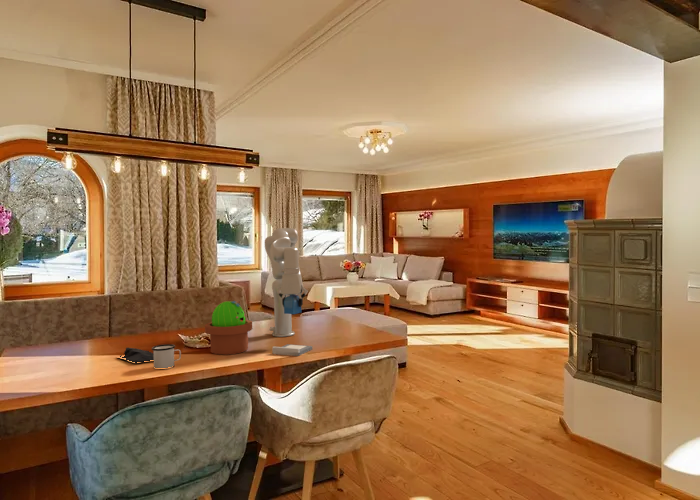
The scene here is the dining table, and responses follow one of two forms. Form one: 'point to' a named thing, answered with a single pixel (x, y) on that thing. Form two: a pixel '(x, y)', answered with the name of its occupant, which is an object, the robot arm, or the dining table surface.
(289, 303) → the perfume bottle
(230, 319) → the potted cactus
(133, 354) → the black folded cloth
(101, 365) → the dining table surface
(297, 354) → the grey square slab
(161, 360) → the mug
